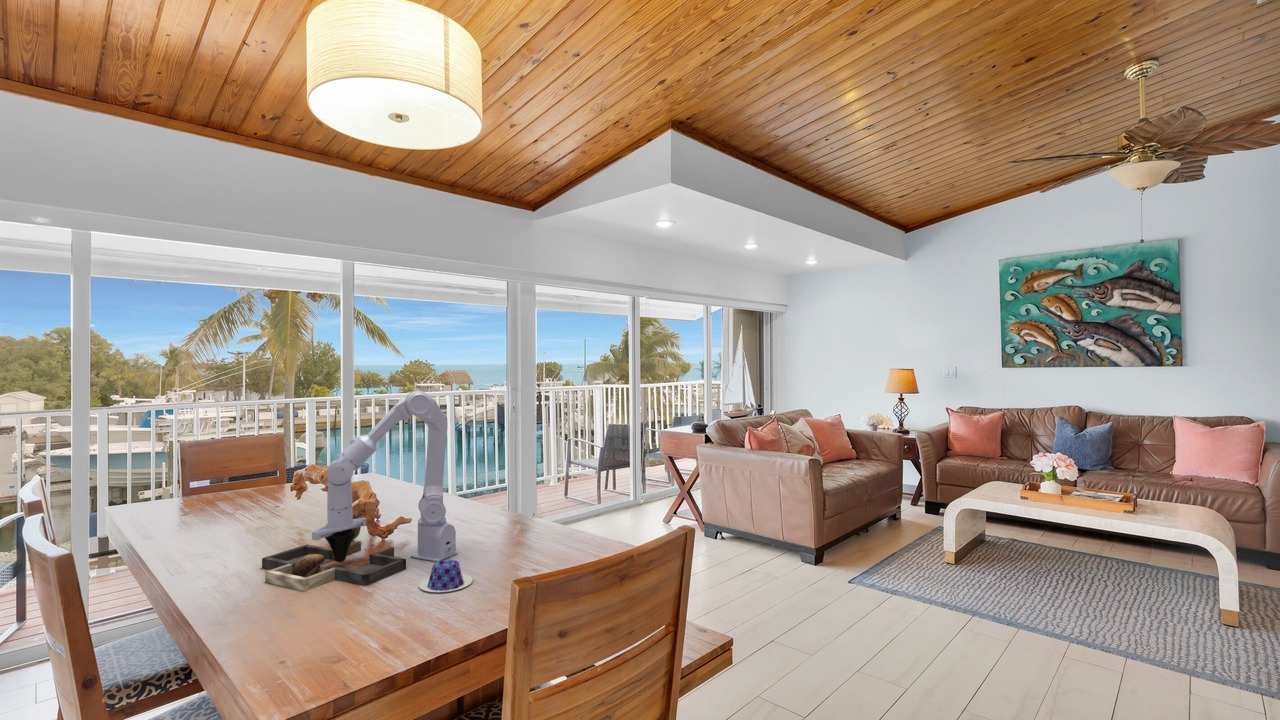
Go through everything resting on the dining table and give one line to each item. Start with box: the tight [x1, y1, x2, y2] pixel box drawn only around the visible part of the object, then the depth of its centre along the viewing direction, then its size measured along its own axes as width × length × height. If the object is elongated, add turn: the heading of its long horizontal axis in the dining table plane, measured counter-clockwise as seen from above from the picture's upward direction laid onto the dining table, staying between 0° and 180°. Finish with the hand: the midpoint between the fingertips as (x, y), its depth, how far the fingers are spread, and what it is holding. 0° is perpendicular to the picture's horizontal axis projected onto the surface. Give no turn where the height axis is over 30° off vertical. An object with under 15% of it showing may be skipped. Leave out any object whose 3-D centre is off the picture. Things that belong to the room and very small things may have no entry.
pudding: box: [418, 559, 474, 593], centre depth 142 cm, size 12×12×5 cm
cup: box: [351, 513, 363, 543], centre depth 172 cm, size 8×7×8 cm
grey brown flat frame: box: [261, 540, 407, 592], centre depth 153 cm, size 33×26×2 cm
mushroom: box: [292, 554, 325, 578], centre depth 146 cm, size 8×8×6 cm
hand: (340, 561), depth 154 cm, fingers closed
